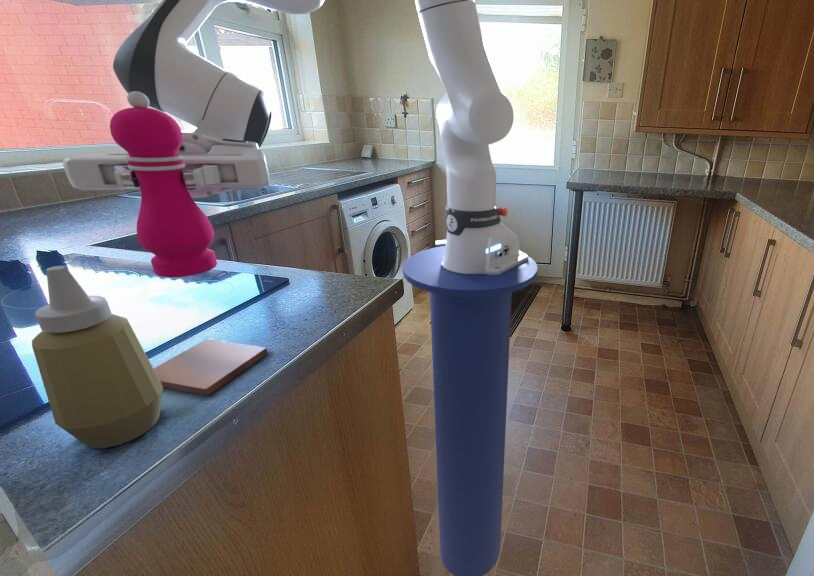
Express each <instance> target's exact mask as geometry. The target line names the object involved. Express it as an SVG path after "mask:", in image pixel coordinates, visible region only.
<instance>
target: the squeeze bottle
mask: <svg viewBox="0 0 814 576" xmlns="http://www.w3.org/2000/svg"><path fill="white" fill-rule="evenodd" d="M45 269H46V282H47V289H48V298H49V299H48V301H49V303H48V304H46V305H43V306H42V307H39V308H38V309H37V310H35V312H34V316H35V319H36V321H37V323H38V325H39V327H40V330H41V331H40V332H39V333H38V334H37V335H36V336H35V337H34V338H33V339H32V340H31V347H32V351H33V355H34V357H35V360H36V364H37V367H38V370H39V373H40V377H41V380H42V384H43V387H44V390H45V394H46V397H47V401H48V404H49V407H50V410H51V414H52V416H53V420H54V423H55V425H56V426H58V427H59V428H61V429H62V430H64V431H65V432H66V433H67V434H69V435H70V436H72V437H73V438H75V439H76V440H78V441H79V442H80V443H81V444H83V445H84V446H87V447H89V448H91V449H107V448H113V447H116V446H120V445H123V444H126V443H128V442H131V441H133V440H135V439H138V438H139V437H141V436H142V435H144V434H146V433H147V432H149V431H150V430H151V429H152V428H153V427H154V426H155V425H157V423H158V421H159V419H160V415H161V414H160V413H161V408H162V401H163V399H162V398H163V392H164V391H163V390H164V388H163V386H162V384H161V382H160V380H159V378H158V376H157V374H156V372H155V371H154V367H153V365H152V363H151V361H150V359H149V358H148V355H147V354H146V352H145V350H144V348H143V346H142V344H141V343H140V341H139V339H138V337H137V335H136V333H135V331H134V329H133V328H132V325H131V324H130V321H129V320H128V318H127V317H124V316H121V315H117V314H114V313H112V310H111V308H110V306H109V303H108V301H107V298H106V297H105V296H104V297H103V296H101V295H88V293H87V292H86V291H85V290H84V288H83V287H82V286H81V284H80V283H79V281H77V280H76V278H75V277H74V276H73V274H72V273H71V272H70V271H69V269H68V268H67V267H66V266H65V265H54V266H49V267H48V268H45Z"/></svg>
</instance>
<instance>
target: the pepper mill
mask: <svg viewBox="0 0 814 576" xmlns="http://www.w3.org/2000/svg"><path fill="white" fill-rule="evenodd" d="M126 99H127V102H128V104H129V105H130V106H131V107H128V108H127V107H126V108H123V109H121V110H119V111H117V112H116V113H114V114H113V115H112V116H111V119H110V121H109V130H110V135H111V138H112V139H113V141H114V142H115V144H117V145H118V146H119V147H120V148H122V149H123V150H124V151H125V152H126V153H128V154H129V156H126V157H125V159H126V160H127V161H128V164H129V165H128V168H129V169H131V170H134V172H135V174H136V176H137V179H138V181H139V185H140V189H139V190H140V207H139V208H140V209H139V211H138V216H137V221H136V236H137V240H138V243H139V245H140V246H141V247H142V248H144V249H145V250H146V251H147V252H150V253H152V254H153V255H154V256H153V257H151V259H150V263H151V266H152V269H153V272H154V274H155V275H156V276H158V277H163V278H184V277H185V278H186V277H191V276H196V275H199V274H203V273H207V272H209V271H211V270H213V269H215V268H216V267H217V265H218V262H217V256H216V253H215V251H214V249H213V250H212V249H210V248H209V247H210V245H211V244H212V242H213V241H214V238H215V230H214V228H213V226H212V223H211V221H210V220H209V218H208V217H207V215H206V214H205V212H203V211H202V209H201V208H200V207H199V206H198V204H197V203H196V202H195V201H194V198H192V197H191V196H190V194H189V192H188V190H187V187H186V184H185V182H184V178H183V172H182V168H184V167H185V164H184V163H183V160H182V159H183V156H182V155H179V154H178V150H179V148H180V147H181V145H182V143H183V134H182V131H183V130H182V129H181V127H180V125H179V124H178V122H177V121H176V120H175V119H174V118H173V117H172V116H171V115H170V114H168V113H167V112H163V111H160V110H158V109H155V108H152V107H150V106H149V104H150V102H149V99H148V97H147V96H146V95H145V94H143V93H141V92H138V91H133V92H130V93H129V94H128V93H127V96H126Z"/></svg>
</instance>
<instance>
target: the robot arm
mask: <svg viewBox="0 0 814 576" xmlns="http://www.w3.org/2000/svg"><path fill="white" fill-rule="evenodd" d="M325 1H326V0H161V1H160V2H159V4H158V5H157V6H156V8H155V9H154V10H153V12H152V13H151V14H150V15H149V16H148V17H147V18H146V19H145V20H144V21H143V22H141V24H139V26H138V27H137V28H136V29H135V30H133V32H132V33H130V34H129V36H127V38H125V39H124V41H123V42H122V43H121V44H120V45H119V46H118V49H117V50H116V53H115V55H114V58H113V62H112V70H113V72H114V74H115V76H116V78H117V80H118V81H119V83H120V85H121V86H122V87H123V89H124V91H125V92H126V93H127V95H128V94H129V93H130V92H133V91H138V92H141V93H143V94H145V95H146V96H147V97H148V99H149V102H150V104H149V108H152V109H155V110H159V111H161V112H164V113H166V114H168V115H170V116H173V117H175V118H177V119H179V120H181V121H184V122H186V123H187V124H190V125H191V126H194V127H196V128H188V129H184V130H181V131H182V134H183V143H182V145H181V147H180V148H179V150H178V154H179V155H182V156H183V159H182V160H183V163H184V164H185V167H184V168H182V172H183V178H184V182H185V184H186V187H187V190H188V192H189V194H190V196H191V197H192V199H203V198H208V197H210V196H213V195H215V194H216V195H219V194H223V193H226V192H231V191H239V190H253V189H261V188H264V187H268V186H270V185H271V179H270V173H269V172H270V171H269V166H268V163H267V162H268V161H267V158H266V154H265V152H264V151H263V150H262V149H261V147H262V145H263V144H264V141H265V139H266V137H267V135H268V131H269V128H270V126H271V125H270V124H271V121H272V110H271V107H270V106H271V105H270V103H269V100H268V98H267V96H266V94H265V93H264V91H263V90H262V89H260V88H258V87H257V86H255V85H253V84H251V83H250V82H248V81H246V80H245V79H243V78H241V77H239V76H237V75H236V74H234V73H232V72H229V71H228V70H226V69H224V68H222V67H221V66H218V65H217V64H215V63H213V62H212V61H210V60H208V59H206V58H205V57H202V56H201V55H199V54H197V53H196V52H194V51H193V50H191V49H190V48H189V47H188V46H187V44H188V43H189V42H190V40H191V39H192V37H193V36H194V35H195V34H196V32H197V31H198V30H199V29H200V28H201V26H202V25H203V24H204V22H205V21H206V20H207V19H208V17H209V16H210V15H211V13H212V12H213V11H214V10H215V9H216V8H217V7H218V6H219V5H221V4H224V3H228V2H240V3H247V4H250V5H255V6H258V7H260V8H261V7H262V8H264V9H268V10H272V11H275V12H278V13H283V14H288V15H306V14H310V13H313V12H315V11H317V10H319V9H320V8H321V7H322V6H323V4H324V3H325ZM414 2H415V8H416V12H417V15H418V20H419V24H420V27H421V30H422V35H423V39H424V43H425V45H426V50H427V54H428V58H429V60H430V62H431V64H432V66H433V67H434V69H435V71H436V73H437V75H438V77H439V80H440V82H441V84H442V86H443V88H444V90H445V94H444V95H443V96H442V97H441V98H440V100H439V101H438V103H437V105H436V109H435V118H436V122H437V125H438V128H439V135H440V141H441V147H442V153H443V158H444V164H445V172H446V173H445V175H446V206H445V226H446V237H445V239H439V240H435V245H444V246H445V252H444V256H443V260H442V266H443V267H444V268H445V269H447V270H449V271H452V272H456V273H462V274H488V275H499V274H501V273H503V272H505V271H507V270H509V269H511V268H513V267H515V266H517V265H519V264H521V263H523V262H525V261H527V260H528V256H529V255H528V254H527V253H525V252H524V251H522V250H520V240H519V239H520V238H519V237H518V235H517V234H516V233H515V232H513V231H512V230H511V229H510V228H509V227H507V226H506V225H505V224H504V223H503V222H501V216H502V217H505V218H506V217H507V216H508V215H509V209H508V207H502V206H500V207H499V208H498V207H497V206H496V197H497V195H496V193H497V192H496V191H497V171H496V169H495V166H494V164H493V161H492V157H491V152H490V146H489V145H492V144H495V143H497V142H499V141H501V140H503V139H504V138H506V137H507V136H508V134H509V133H510V131H511V129H512V127H513V123H514V109H513V105H512V103H511V101H510V100H509V98H508V97H507V96H506V95H505V93H504V92H503V90H502V89H501V87H500V83H499V81H498V79H497V76H496V73H495V71H494V69H493V66H492V64H491V62H490V59H489V56H488V52H487V49H486V46H485V43H484V38H483V34H482V29H481V23H480V20H479V19H480V18H479V15H478V10H477V4H476V1H475V0H414ZM126 156H129V154H128V152H97V153H88V154H87V153H86V154H81V155H74V156H67V157H64V159H63V160H62V166H63V169H64V172H65V175H66V177H67V179H68V182H69V184H70V185H71V186H72V188H74V189H76V190H80V191H98V190H100V191H101V190H141V189H140V185H139V181H138V179H137V176H136V174H135V172H134V170H131V169H129V168H128V165H129V164H128V161H127V160H126V159H125V157H126Z"/></svg>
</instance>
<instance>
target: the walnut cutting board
mask: <svg viewBox="0 0 814 576" xmlns="http://www.w3.org/2000/svg"><path fill="white" fill-rule="evenodd" d="M268 354H269V352H268V348H267V347H264V346H258V345H251V344H244V343H239V342H234V341H233V342H232V341H227V340H220V339H214V338H206V339H204V340H202V341H200V342H199V343H196V344H195V345H193V346H191V347H190V348H187V349H186V350H184V351H182V352H181V353H179V354H177V355H175V356H174V357H171V358H170V359H168V360H166V361H164V362H162V363H161V364H159V365H157V366H156V367H153V369H154V371H155V372H156V374H157V376H158V378H159V380H160V382H161V384H162V386H163V389H169V390H174V391H180V392H185V393H191V394H195V395H201V396H206V397H208V396H210V395H211V394H213V393H215V392H216V391H217V390H219V389H220V388H221V387H223V386H224V385H226V384H227V383H229V382H230V381H231V380H233V379H234V378H235V377H237V376H238V375H240V374H241V373H243V372H244V371H246V370H247V369H248V368H250V367H251V366H252V365H254V364H255V363H257V362H258V361H260V360H262V359H263V358H264V357H265V356H267V355H268Z"/></svg>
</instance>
